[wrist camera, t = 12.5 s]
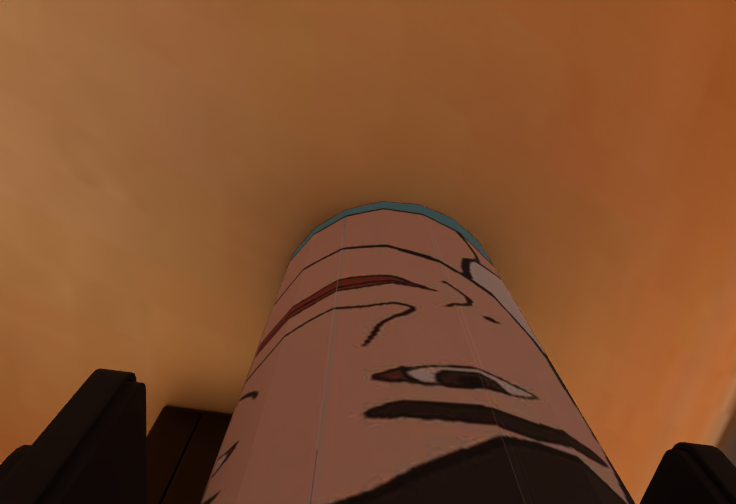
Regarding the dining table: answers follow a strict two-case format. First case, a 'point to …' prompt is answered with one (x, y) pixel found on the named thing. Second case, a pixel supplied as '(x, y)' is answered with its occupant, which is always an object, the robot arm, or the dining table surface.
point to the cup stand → (182, 454)
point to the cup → (403, 381)
